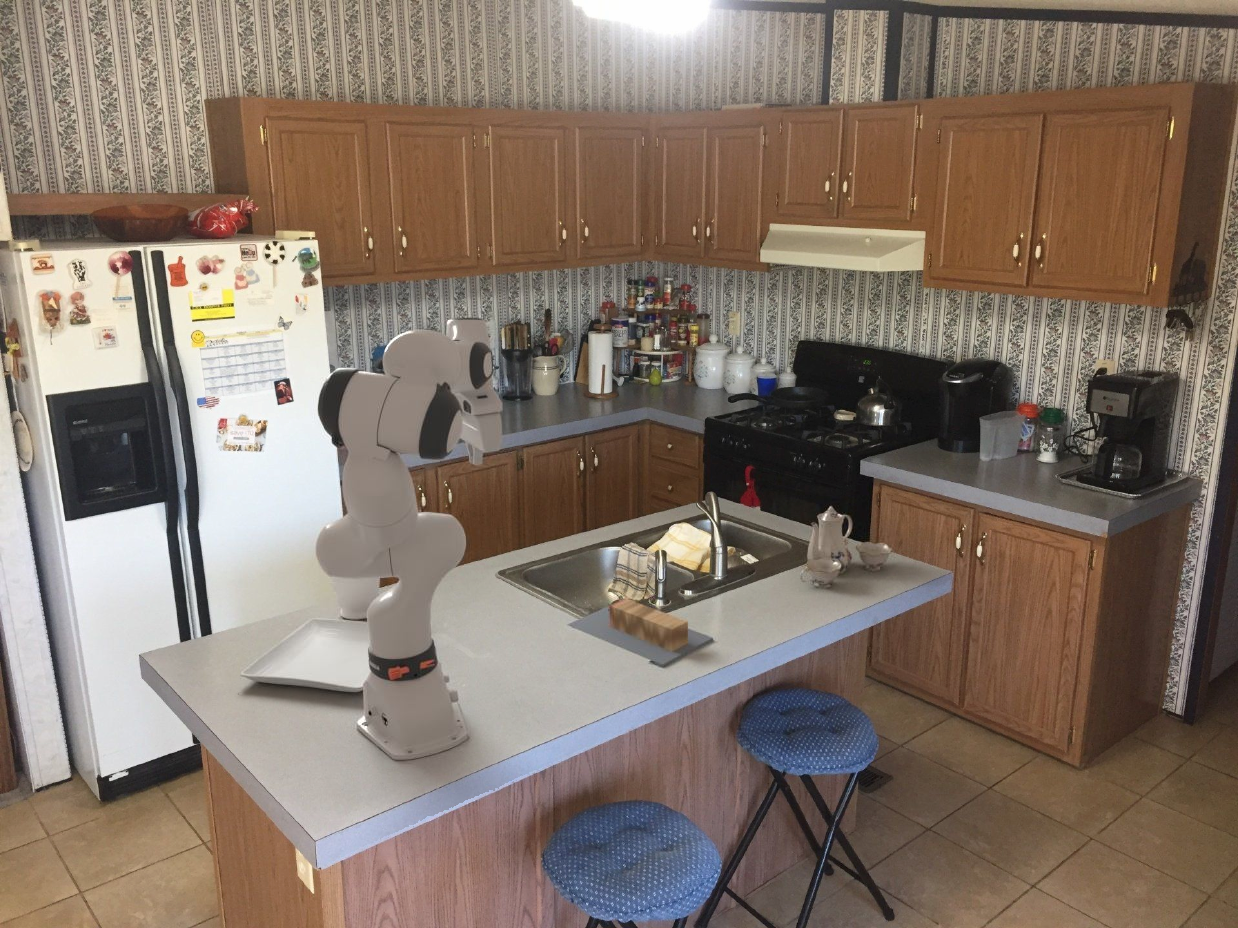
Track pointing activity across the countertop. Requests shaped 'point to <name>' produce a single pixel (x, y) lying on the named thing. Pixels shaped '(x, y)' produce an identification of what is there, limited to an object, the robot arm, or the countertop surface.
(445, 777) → the countertop surface
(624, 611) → the oak block
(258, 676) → the square plate
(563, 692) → the countertop surface
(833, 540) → the chinaware
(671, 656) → the mat
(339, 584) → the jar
